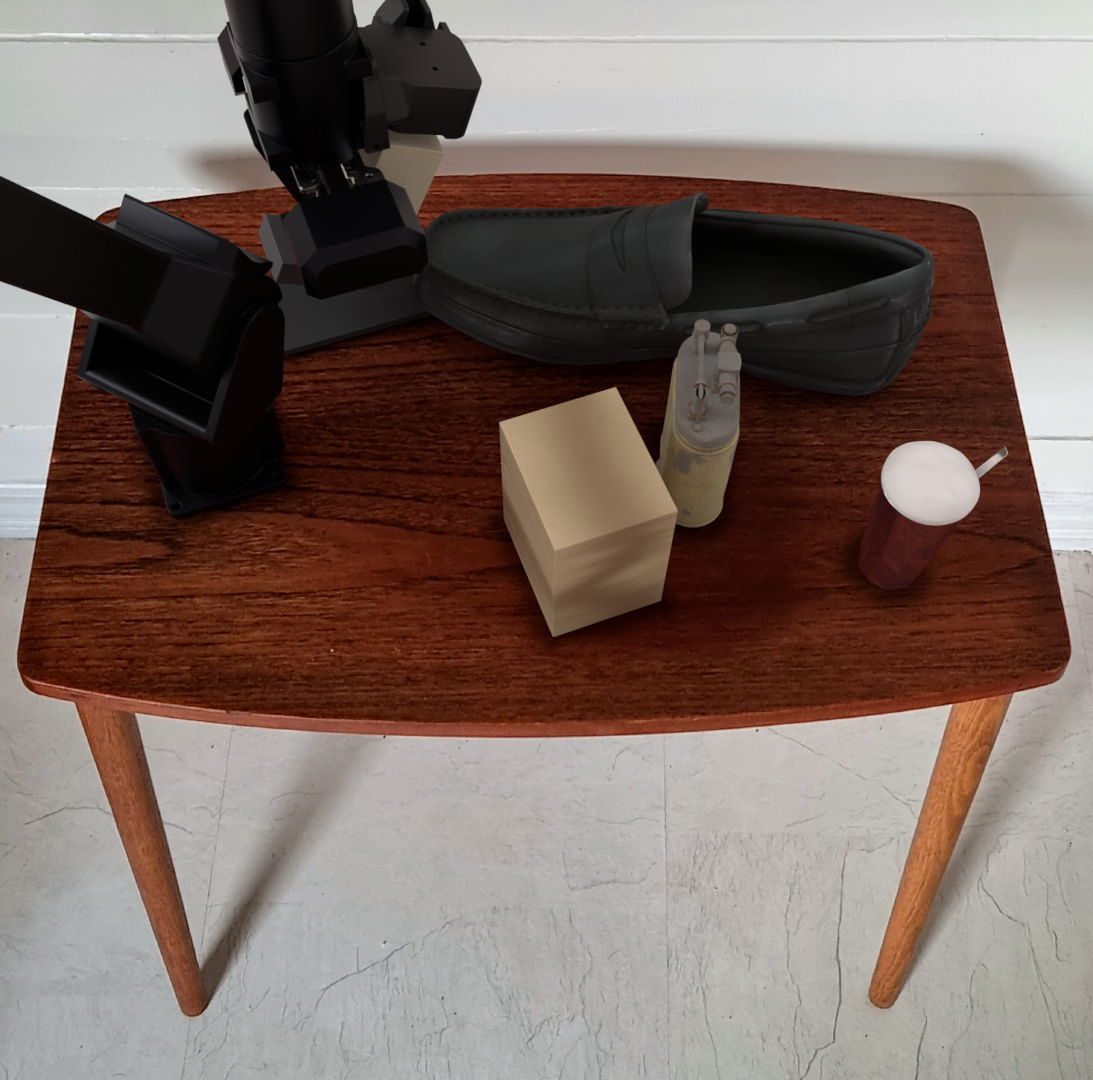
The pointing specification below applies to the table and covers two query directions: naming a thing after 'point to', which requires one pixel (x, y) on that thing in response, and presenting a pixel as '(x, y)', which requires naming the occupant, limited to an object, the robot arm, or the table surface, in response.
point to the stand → (586, 510)
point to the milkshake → (917, 509)
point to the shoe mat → (344, 314)
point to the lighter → (701, 423)
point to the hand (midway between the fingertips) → (340, 257)
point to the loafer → (682, 288)
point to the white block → (401, 164)
